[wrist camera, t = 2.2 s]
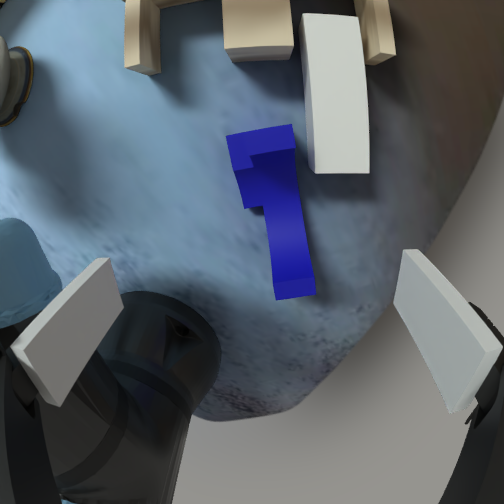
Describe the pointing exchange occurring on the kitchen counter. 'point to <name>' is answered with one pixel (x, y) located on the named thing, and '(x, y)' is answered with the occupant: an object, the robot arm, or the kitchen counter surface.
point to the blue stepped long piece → (275, 203)
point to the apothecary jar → (13, 80)
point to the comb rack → (249, 31)
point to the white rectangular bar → (334, 93)
